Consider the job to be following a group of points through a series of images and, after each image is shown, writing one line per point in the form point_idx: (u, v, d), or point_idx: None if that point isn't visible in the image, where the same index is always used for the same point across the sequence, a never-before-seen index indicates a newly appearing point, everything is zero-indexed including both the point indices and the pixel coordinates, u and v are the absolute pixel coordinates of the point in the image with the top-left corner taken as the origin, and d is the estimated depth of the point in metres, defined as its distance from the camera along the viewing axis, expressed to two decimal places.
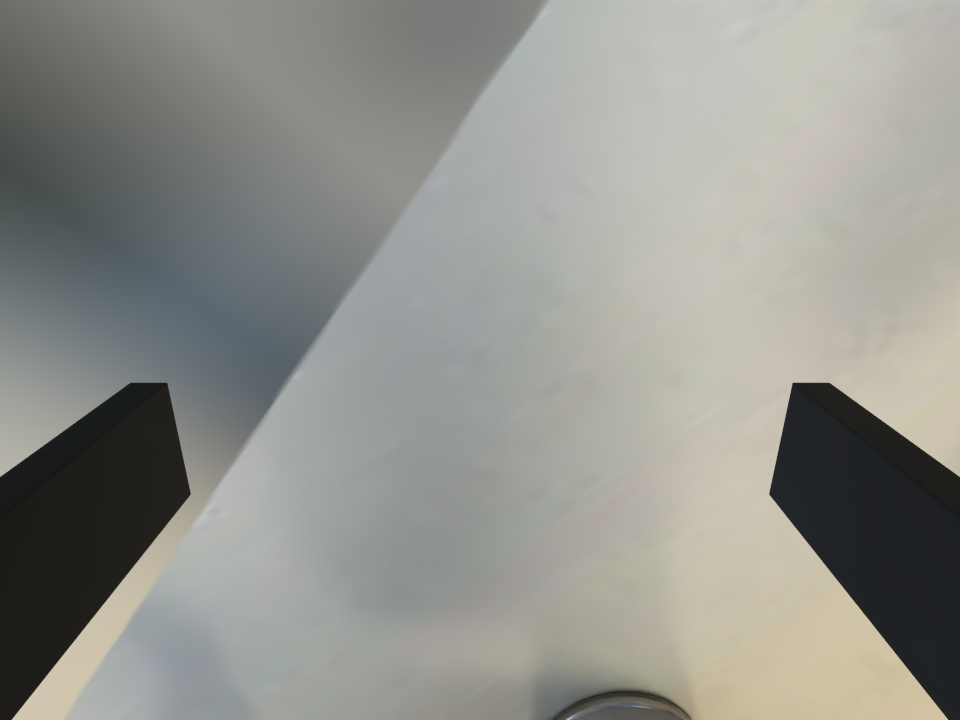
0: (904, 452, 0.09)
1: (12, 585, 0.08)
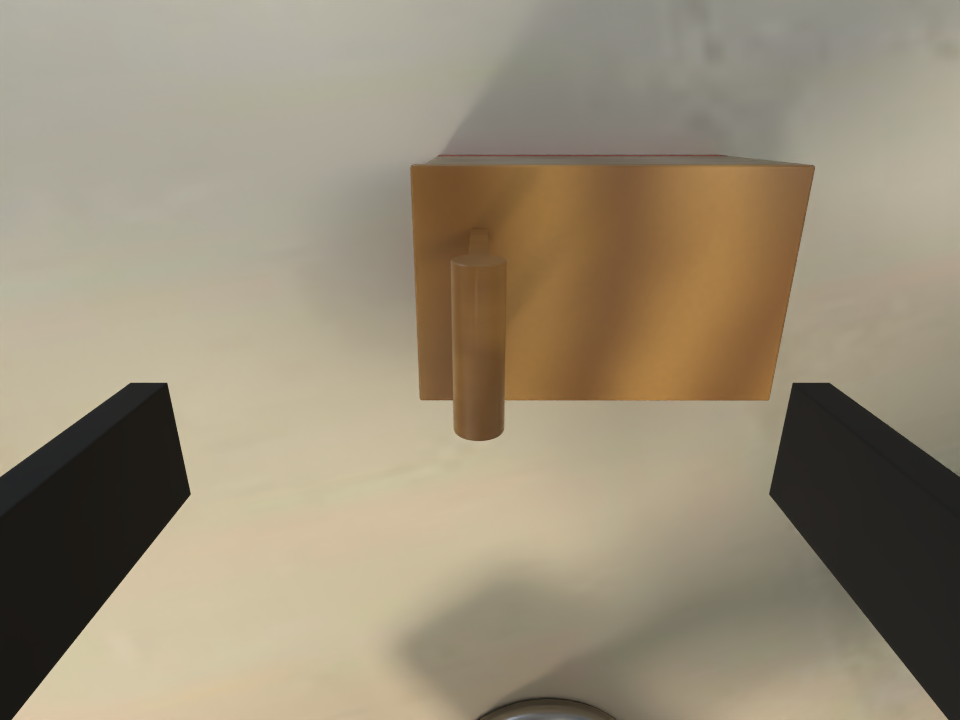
0: (904, 452, 0.09)
1: (12, 585, 0.08)
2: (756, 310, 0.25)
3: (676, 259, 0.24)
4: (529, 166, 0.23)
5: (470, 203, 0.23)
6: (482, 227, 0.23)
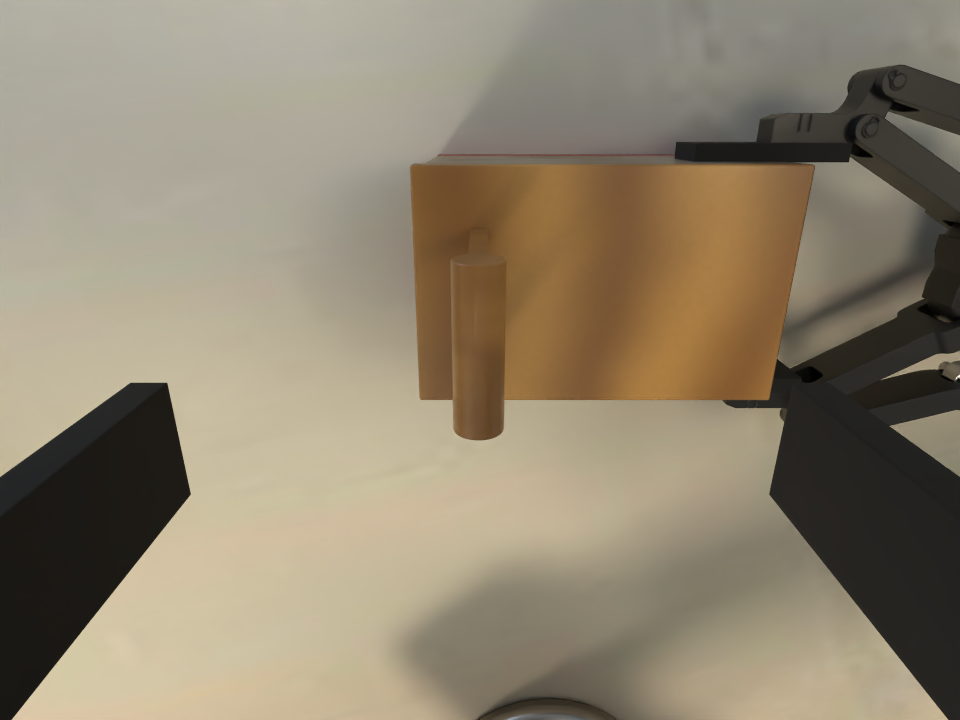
0: (904, 452, 0.09)
1: (12, 585, 0.08)
2: (756, 310, 0.25)
3: (676, 258, 0.24)
4: (529, 165, 0.22)
5: (470, 202, 0.23)
6: (482, 226, 0.23)
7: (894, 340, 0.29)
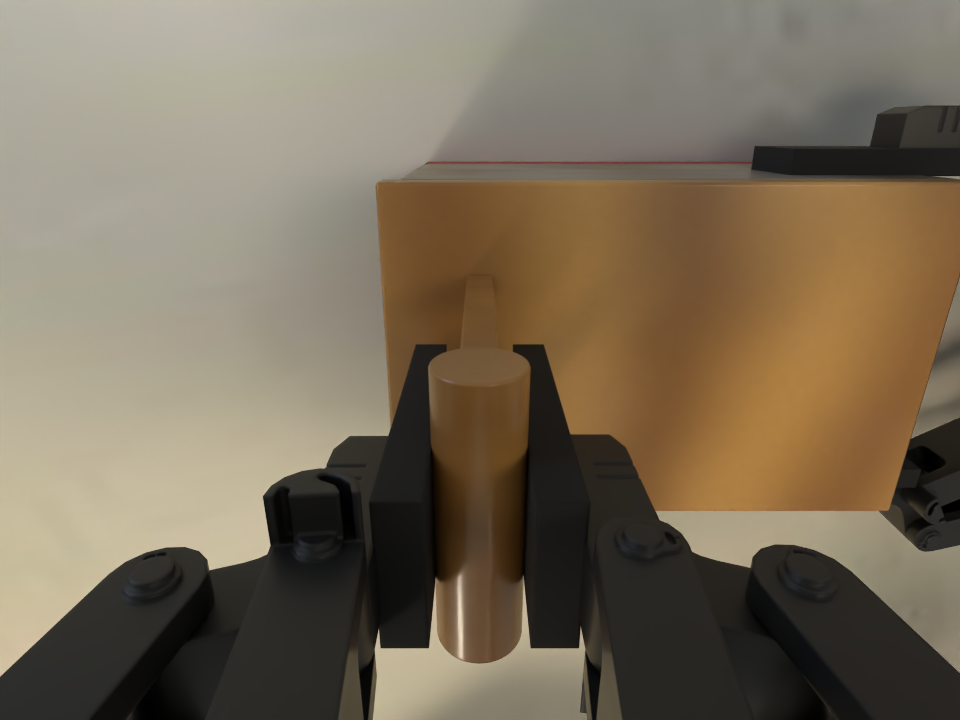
0: (540, 392, 0.12)
1: None
2: (881, 390, 0.17)
3: (770, 319, 0.16)
4: (555, 183, 0.15)
5: (466, 238, 0.15)
6: (484, 273, 0.16)
7: None
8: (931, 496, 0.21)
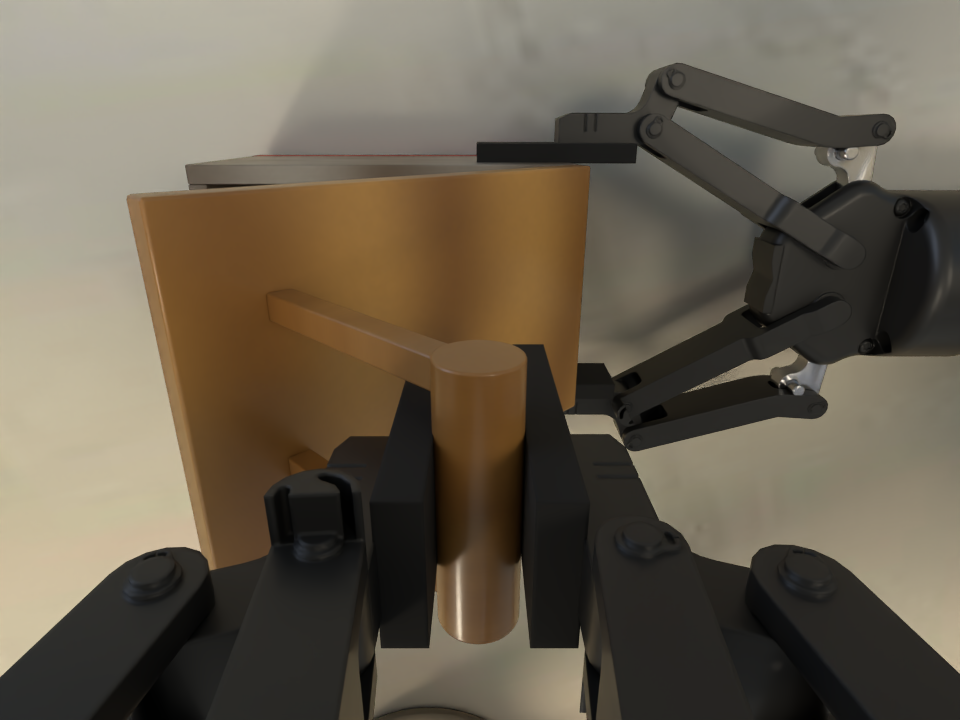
0: (540, 392, 0.12)
1: (434, 488, 0.10)
2: (562, 321, 0.23)
3: (501, 283, 0.20)
4: (337, 185, 0.15)
5: (259, 252, 0.14)
6: (283, 288, 0.14)
7: (710, 345, 0.28)
8: (621, 404, 0.28)
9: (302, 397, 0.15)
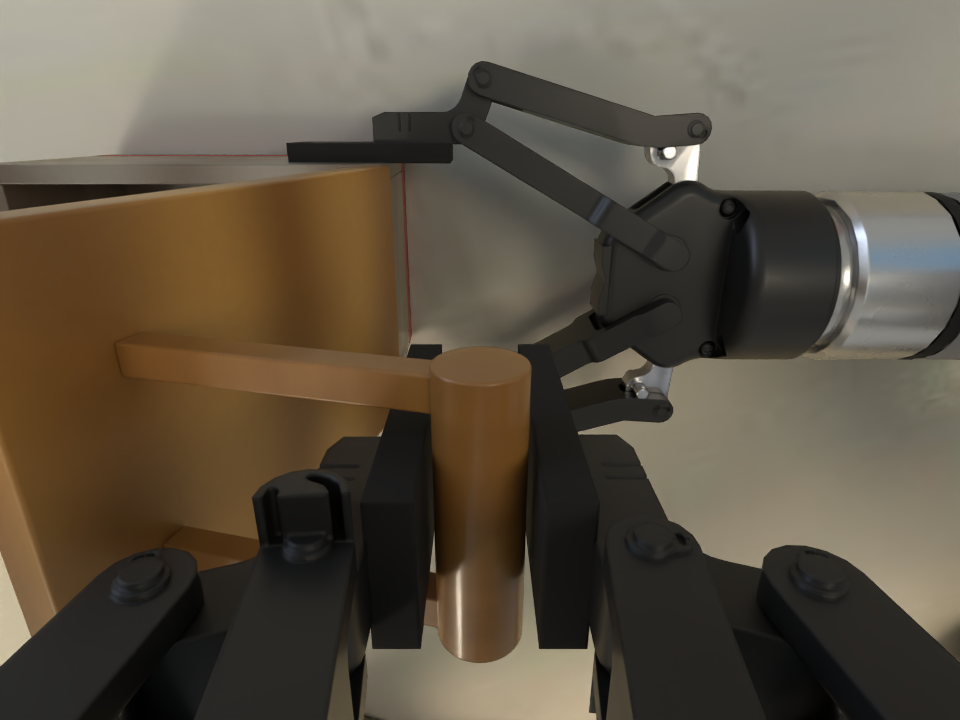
0: (547, 392, 0.12)
1: (427, 489, 0.10)
2: (385, 324, 0.23)
3: (336, 293, 0.19)
4: (176, 196, 0.12)
5: (100, 290, 0.10)
6: (133, 332, 0.11)
7: (552, 348, 0.27)
8: None
9: (169, 465, 0.12)
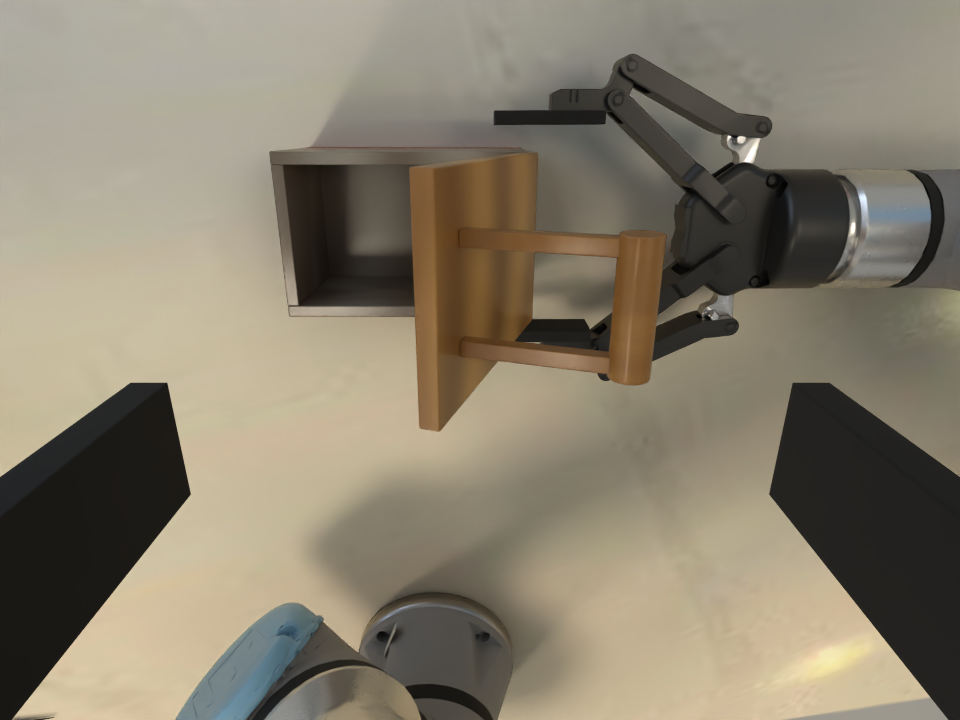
0: (904, 452, 0.09)
1: (12, 585, 0.08)
2: (529, 258, 0.34)
3: (514, 230, 0.30)
4: (475, 162, 0.24)
5: (457, 203, 0.22)
6: (462, 226, 0.23)
7: None
8: (594, 346, 0.39)
9: (464, 300, 0.24)
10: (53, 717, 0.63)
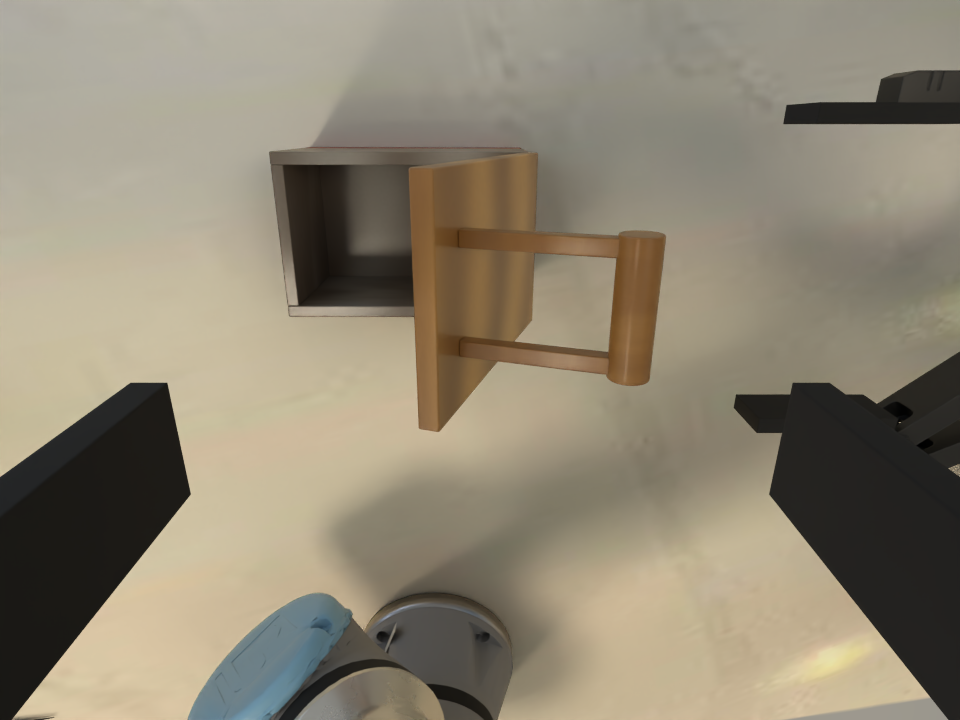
0: (904, 452, 0.09)
1: (12, 585, 0.08)
2: (529, 258, 0.34)
3: (514, 230, 0.30)
4: (475, 162, 0.24)
5: (457, 204, 0.22)
6: (462, 227, 0.23)
7: None
8: None
9: (463, 300, 0.24)
10: (53, 717, 0.63)
